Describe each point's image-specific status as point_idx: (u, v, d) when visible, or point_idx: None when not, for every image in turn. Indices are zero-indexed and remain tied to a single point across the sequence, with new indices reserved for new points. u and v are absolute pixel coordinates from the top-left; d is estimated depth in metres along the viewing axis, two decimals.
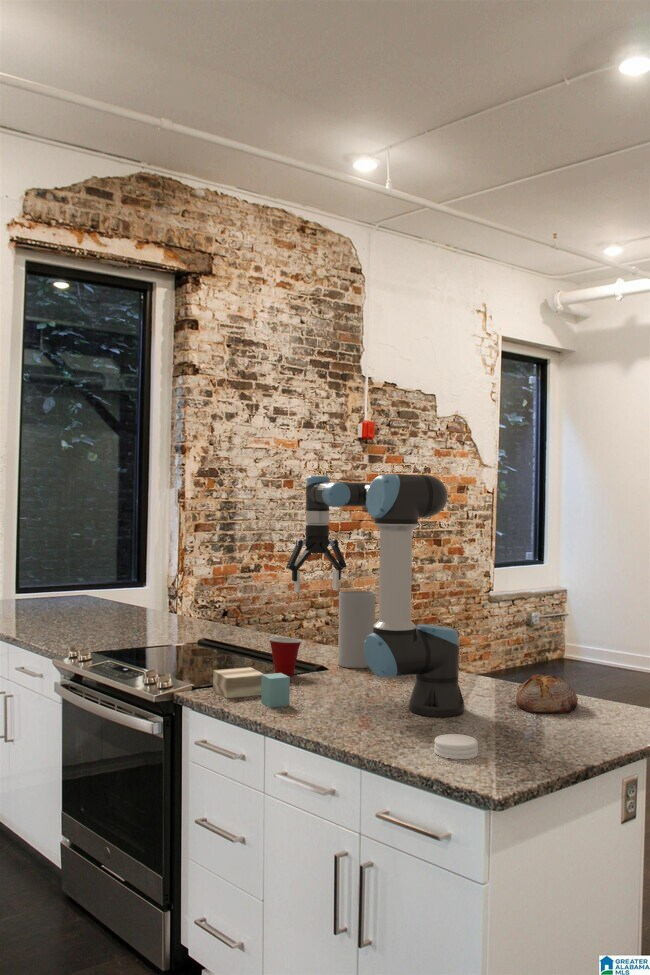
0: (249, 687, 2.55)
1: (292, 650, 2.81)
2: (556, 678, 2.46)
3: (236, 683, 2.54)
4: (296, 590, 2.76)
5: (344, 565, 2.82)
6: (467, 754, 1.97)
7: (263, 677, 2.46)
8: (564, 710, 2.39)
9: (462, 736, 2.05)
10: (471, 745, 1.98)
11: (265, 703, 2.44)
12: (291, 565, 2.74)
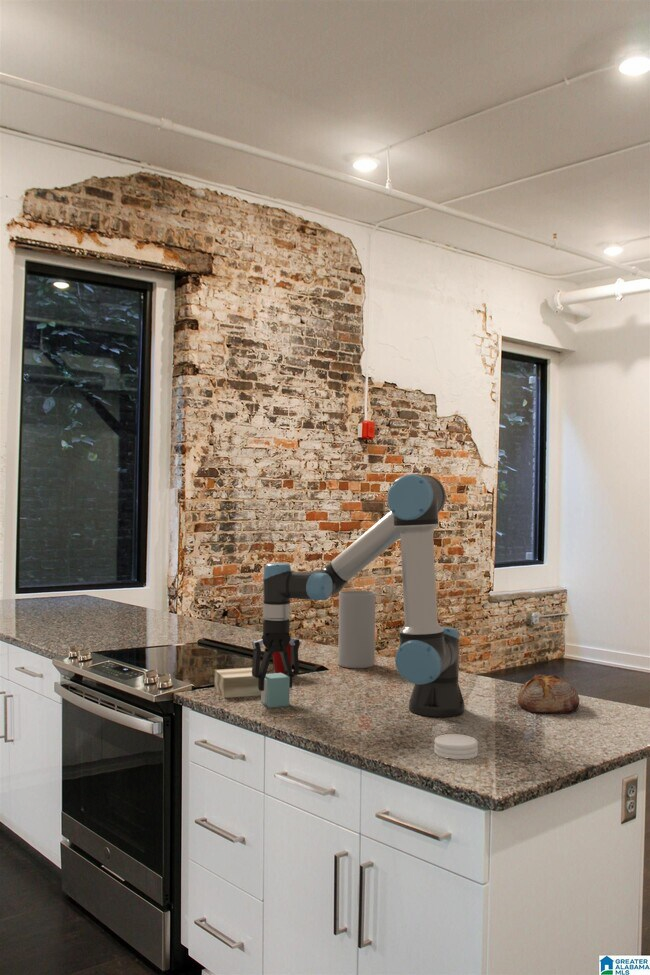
0: (247, 687, 2.55)
1: None
2: (558, 678, 2.46)
3: (234, 683, 2.54)
4: (263, 700, 2.44)
5: (296, 671, 2.47)
6: (467, 754, 1.97)
7: None
8: (566, 710, 2.39)
9: (462, 736, 2.05)
10: (471, 745, 1.98)
11: (265, 703, 2.44)
12: (256, 673, 2.42)
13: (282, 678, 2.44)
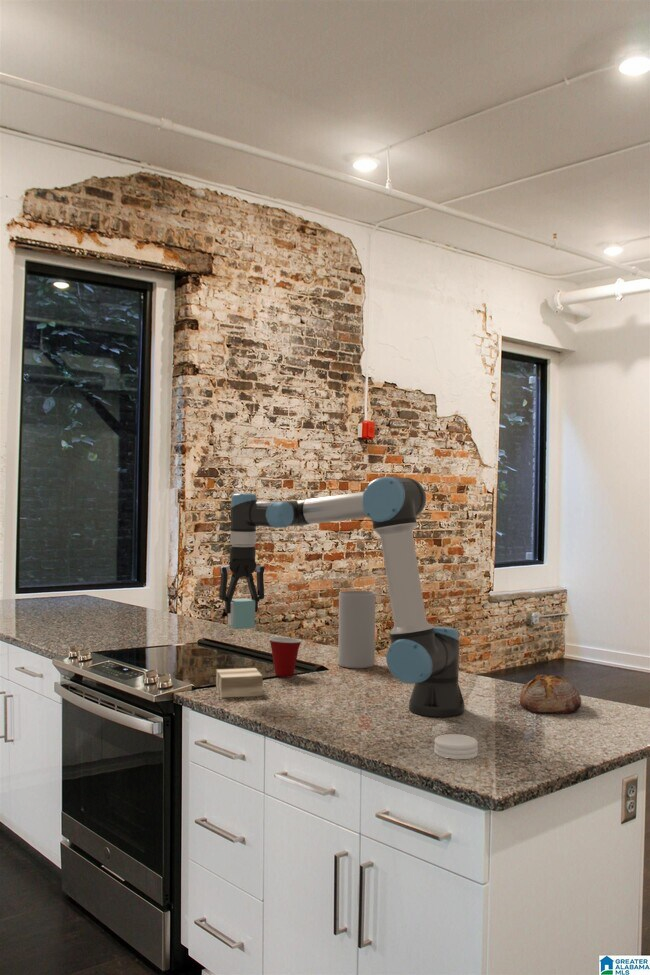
0: (245, 687, 2.55)
1: (292, 650, 2.81)
2: (560, 678, 2.46)
3: (232, 682, 2.54)
4: (229, 623, 2.57)
5: (262, 596, 2.61)
6: (467, 754, 1.97)
7: None
8: (568, 710, 2.39)
9: (462, 736, 2.05)
10: (471, 745, 1.98)
11: (231, 625, 2.58)
12: (223, 596, 2.56)
13: (248, 602, 2.57)
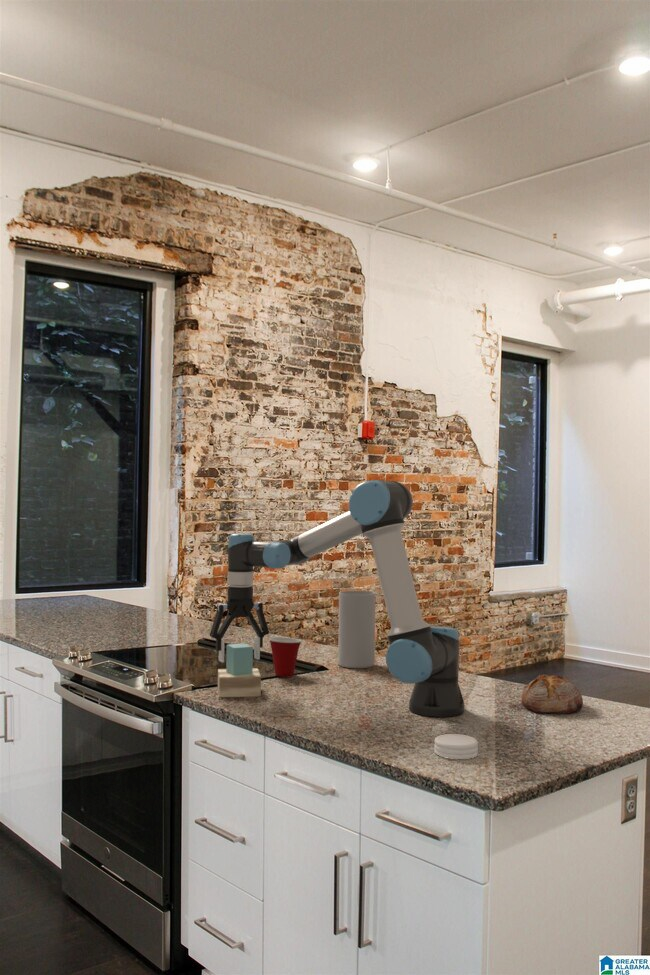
0: (243, 688, 2.54)
1: (292, 650, 2.81)
2: (561, 678, 2.46)
3: (229, 683, 2.54)
4: (220, 660, 2.57)
5: (266, 632, 2.63)
6: (467, 754, 1.97)
7: (228, 647, 2.60)
8: (571, 710, 2.39)
9: (462, 736, 2.05)
10: (471, 745, 1.98)
11: (230, 671, 2.59)
12: (214, 633, 2.55)
13: (245, 648, 2.58)
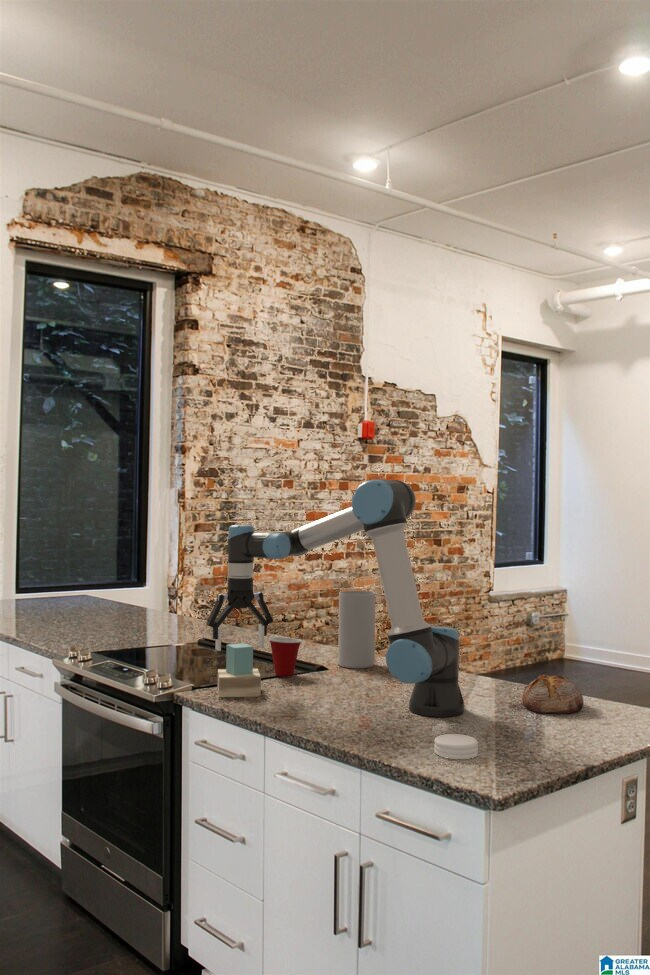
0: (243, 688, 2.54)
1: (292, 650, 2.81)
2: (562, 678, 2.46)
3: (229, 683, 2.54)
4: (217, 648, 2.57)
5: (270, 620, 2.63)
6: (467, 754, 1.97)
7: (228, 647, 2.61)
8: (571, 710, 2.39)
9: (462, 736, 2.05)
10: (471, 745, 1.98)
11: (230, 671, 2.59)
12: (211, 622, 2.55)
13: (246, 648, 2.58)
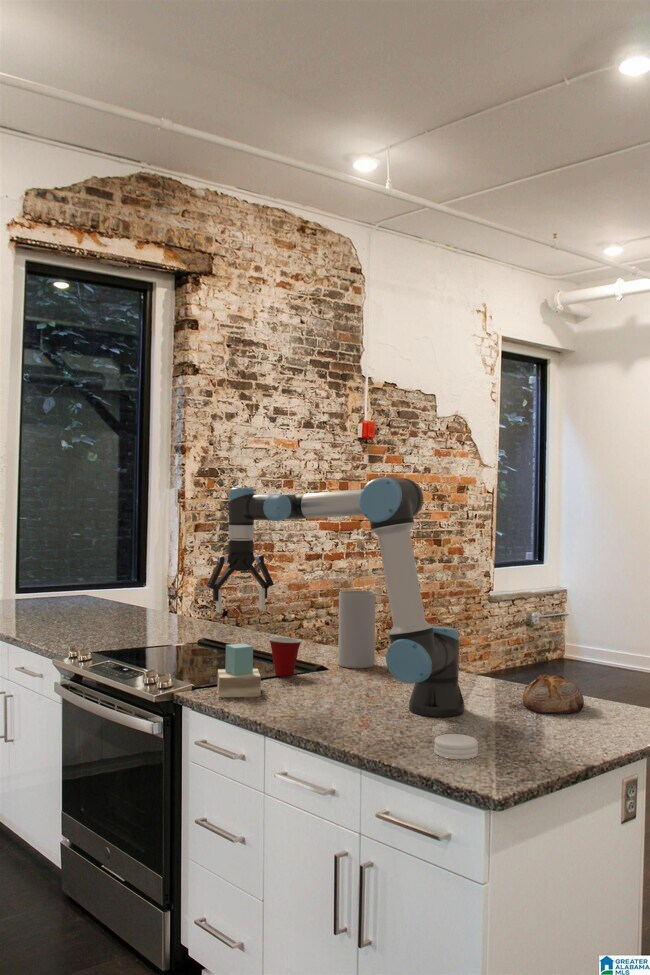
0: (243, 688, 2.54)
1: (292, 650, 2.81)
2: (563, 678, 2.46)
3: (229, 683, 2.54)
4: (217, 610, 2.57)
5: (271, 583, 2.63)
6: (467, 754, 1.97)
7: (227, 647, 2.60)
8: (572, 710, 2.39)
9: (462, 736, 2.05)
10: (471, 745, 1.98)
11: (230, 671, 2.58)
12: (211, 584, 2.55)
13: (246, 648, 2.58)
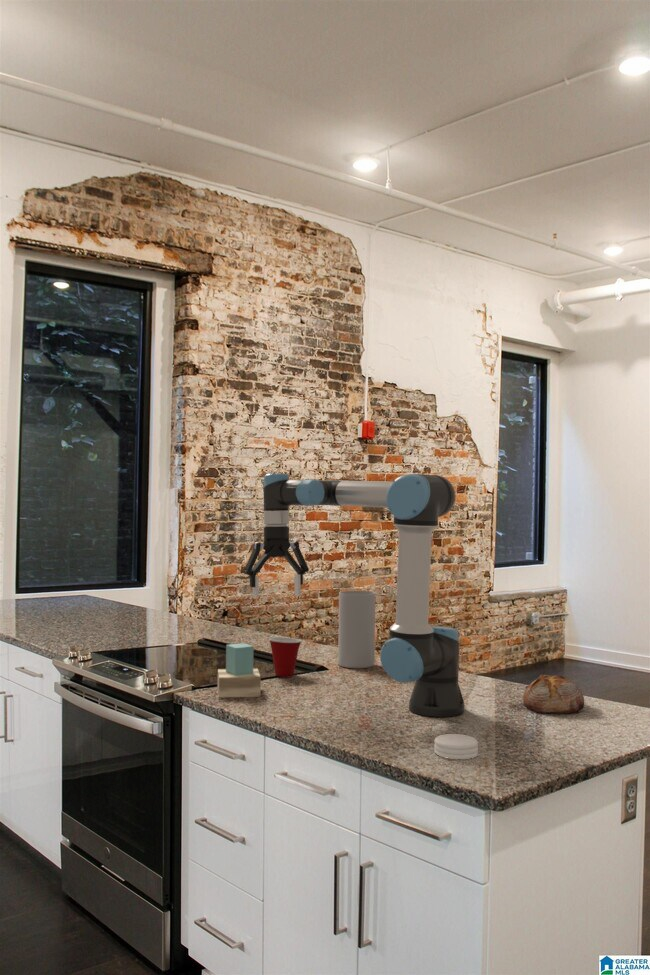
0: (243, 688, 2.54)
1: (292, 650, 2.81)
2: (563, 678, 2.46)
3: (229, 683, 2.53)
4: (254, 597, 2.56)
5: (306, 569, 2.63)
6: (467, 754, 1.97)
7: (228, 647, 2.60)
8: (572, 710, 2.39)
9: (462, 736, 2.05)
10: (471, 745, 1.98)
11: (230, 671, 2.59)
12: (248, 570, 2.55)
13: (247, 647, 2.58)
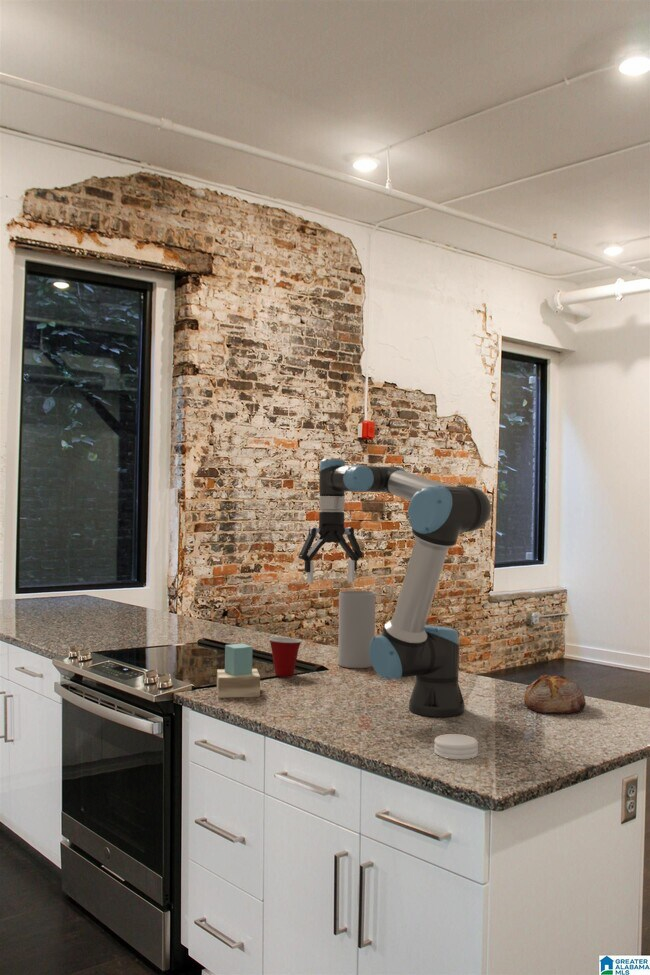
0: (243, 688, 2.54)
1: (292, 650, 2.81)
2: (564, 678, 2.46)
3: (229, 683, 2.53)
4: (309, 582, 2.57)
5: (360, 555, 2.63)
6: (466, 754, 1.97)
7: (227, 647, 2.59)
8: (574, 710, 2.39)
9: (462, 736, 2.05)
10: (471, 745, 1.98)
11: (229, 672, 2.58)
12: (304, 555, 2.55)
13: (245, 648, 2.58)
